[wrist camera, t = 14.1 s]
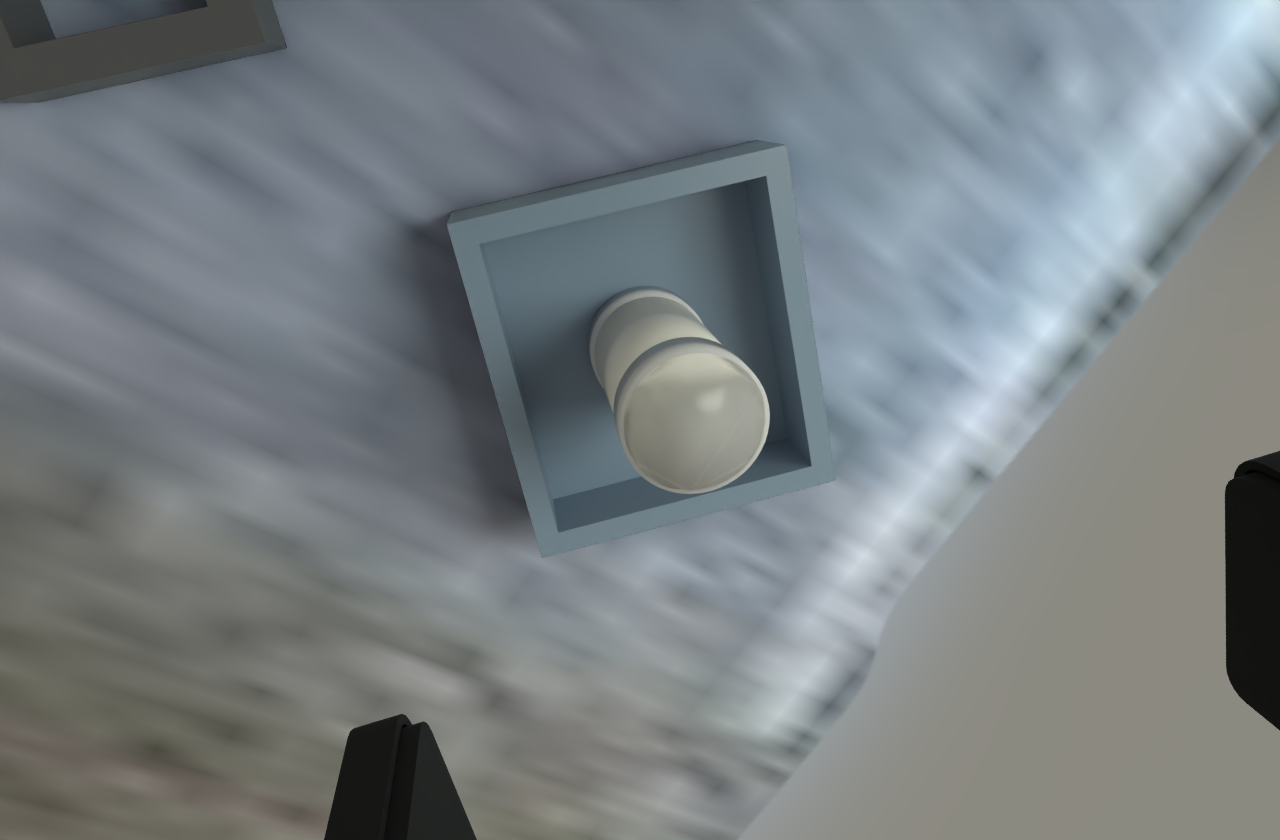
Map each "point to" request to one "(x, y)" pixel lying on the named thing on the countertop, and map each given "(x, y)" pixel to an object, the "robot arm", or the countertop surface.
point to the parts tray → (625, 258)
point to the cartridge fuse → (676, 392)
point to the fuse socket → (125, 47)
